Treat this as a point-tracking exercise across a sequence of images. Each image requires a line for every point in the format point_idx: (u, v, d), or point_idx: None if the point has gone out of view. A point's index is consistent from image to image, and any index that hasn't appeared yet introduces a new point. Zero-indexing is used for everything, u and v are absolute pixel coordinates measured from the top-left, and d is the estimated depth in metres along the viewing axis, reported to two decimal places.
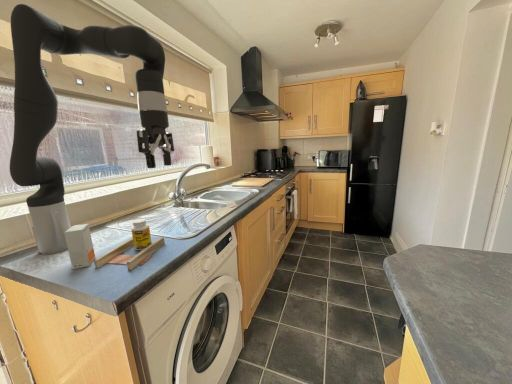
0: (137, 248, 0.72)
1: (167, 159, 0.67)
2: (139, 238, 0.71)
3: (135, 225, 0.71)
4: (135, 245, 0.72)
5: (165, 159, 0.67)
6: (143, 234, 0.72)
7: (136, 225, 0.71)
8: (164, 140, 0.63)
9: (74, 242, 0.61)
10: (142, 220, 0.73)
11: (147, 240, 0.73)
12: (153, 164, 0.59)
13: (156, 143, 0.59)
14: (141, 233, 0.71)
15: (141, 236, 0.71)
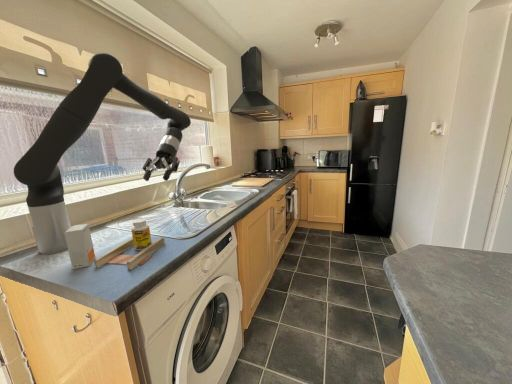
0: (137, 248, 0.72)
1: (148, 176, 0.83)
2: (139, 238, 0.71)
3: (135, 225, 0.71)
4: (135, 245, 0.72)
5: (147, 175, 0.82)
6: (143, 234, 0.72)
7: (136, 225, 0.71)
8: None
9: (74, 242, 0.61)
10: (142, 220, 0.73)
11: (147, 240, 0.73)
12: (167, 178, 0.81)
13: None
14: (141, 233, 0.71)
15: (141, 236, 0.71)
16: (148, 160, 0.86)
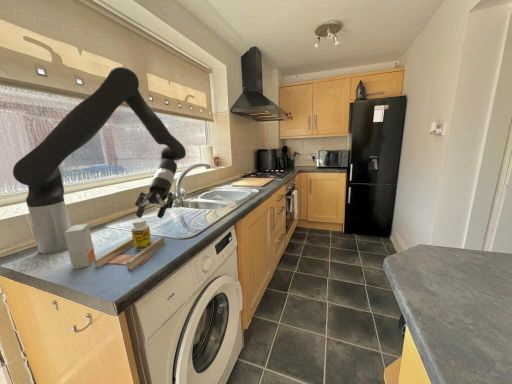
0: (137, 248, 0.72)
1: (141, 212, 0.80)
2: (139, 238, 0.71)
3: (135, 225, 0.71)
4: (135, 245, 0.72)
5: (140, 211, 0.79)
6: (143, 234, 0.72)
7: (136, 225, 0.71)
8: None
9: (74, 242, 0.61)
10: (142, 220, 0.73)
11: (147, 240, 0.73)
12: None
13: None
14: (141, 233, 0.71)
15: (141, 236, 0.71)
16: (141, 195, 0.82)
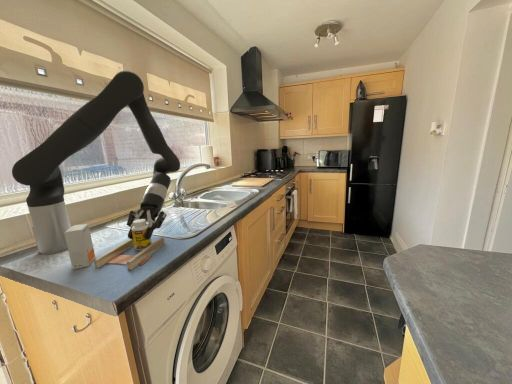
0: (137, 248, 0.72)
1: None
2: (138, 238, 0.71)
3: (135, 225, 0.71)
4: (135, 245, 0.72)
5: None
6: (143, 234, 0.72)
7: (136, 225, 0.71)
8: None
9: (74, 242, 0.61)
10: (142, 220, 0.73)
11: (147, 240, 0.73)
12: None
13: None
14: (141, 233, 0.71)
15: (141, 236, 0.71)
16: (131, 213, 0.77)
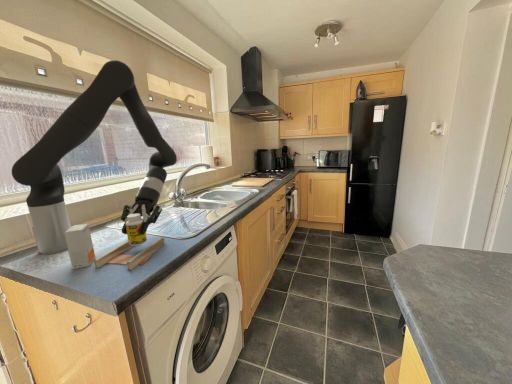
0: (131, 243, 0.70)
1: None
2: (133, 233, 0.69)
3: (129, 219, 0.69)
4: (129, 240, 0.70)
5: None
6: (138, 229, 0.69)
7: (130, 219, 0.68)
8: None
9: (74, 242, 0.61)
10: (137, 214, 0.70)
11: (142, 235, 0.71)
12: None
13: None
14: (135, 227, 0.69)
15: (135, 231, 0.69)
16: (126, 208, 0.74)
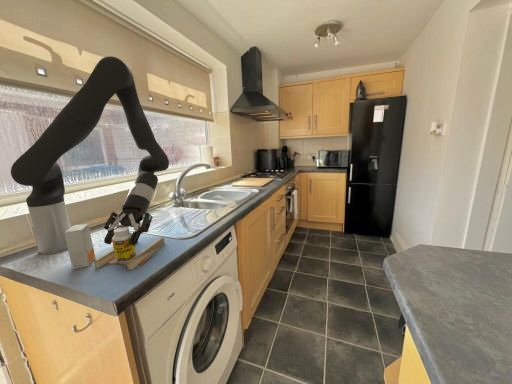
0: (118, 260, 0.64)
1: (111, 238, 0.66)
2: (120, 249, 0.63)
3: (116, 234, 0.63)
4: (116, 257, 0.64)
5: (109, 237, 0.65)
6: (125, 245, 0.64)
7: (117, 234, 0.63)
8: None
9: (74, 242, 0.61)
10: (124, 229, 0.65)
11: (130, 251, 0.65)
12: None
13: None
14: (122, 243, 0.63)
15: (122, 247, 0.63)
16: (112, 215, 0.69)
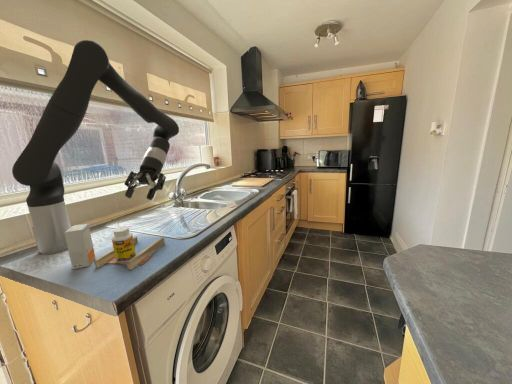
0: (118, 260, 0.64)
1: (131, 193, 0.77)
2: (120, 249, 0.63)
3: (116, 234, 0.63)
4: (116, 257, 0.64)
5: (130, 192, 0.76)
6: (125, 245, 0.64)
7: (117, 234, 0.63)
8: None
9: (74, 242, 0.61)
10: (124, 229, 0.65)
11: (130, 251, 0.65)
12: None
13: None
14: (122, 243, 0.63)
15: (122, 247, 0.63)
16: (131, 174, 0.79)
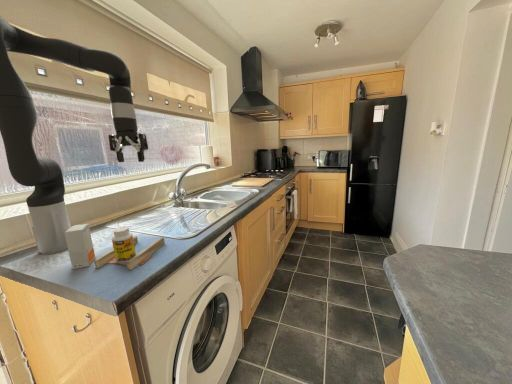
0: (118, 260, 0.64)
1: (121, 157, 0.80)
2: (120, 249, 0.63)
3: (116, 234, 0.63)
4: (116, 257, 0.64)
5: (120, 157, 0.80)
6: (125, 245, 0.64)
7: (117, 234, 0.63)
8: None
9: (74, 242, 0.61)
10: (124, 229, 0.65)
11: (130, 251, 0.65)
12: None
13: None
14: (122, 243, 0.63)
15: (122, 247, 0.63)
16: (111, 138, 0.78)
